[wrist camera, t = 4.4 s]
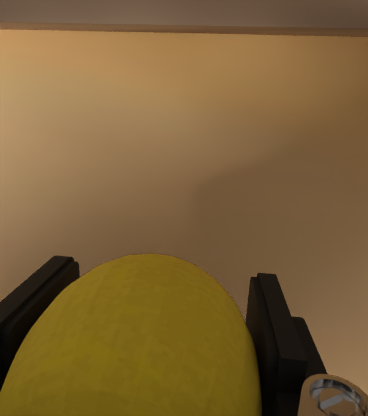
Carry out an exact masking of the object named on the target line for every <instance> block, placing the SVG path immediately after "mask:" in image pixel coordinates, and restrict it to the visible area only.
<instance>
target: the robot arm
mask: <svg viewBox="0 0 368 416" xmlns="http://www.w3.org/2000/svg"><path fill="white" fill-rule="evenodd" d="M79 278H80V277H79V264H78V262H74V259H73V258H72V257H66V256H54V257H52V258H51V259H50V260H49V261H48V262H47V263H45V264H44V265H43V266H42V267H41V268H40V269H38V270H37V271H36V272H35V273H34V274H32V275H31V276H30V277H29V278H28V279H27V280H25V281H24V282H23V283H22V284H21V285H20V286H18V287H17V288H16V289H15V290H14V291H13V292H11V293H10V294H9V295H8V296H7V297H6V298H4V299H3V300H2V301H1V302H0V392H1V389H2V386H3V384H4V381H5V379H6V376H7V374H8V371H9V369H10V366H11V364H12V362H13V360H14V358H15V355H16V353H17V351H18V350H19V348H20V346H21V344H22V342H23V340H24V339H25V337H26V335H27V334H28V332H29V331H30V329H31V328H32V326H33V325H34V324H35V322H36V321H37V320H38V319H39V317H40V316H41V315H42V314H43V313H44V311H45V310H46V309H47V308H48V307H49V305H50V304H51V303H52V302H53V301H54V299H55V298H56V297H57V296H58V295H59V294H60V293H61V292H62V291H63V290H64V289H65V288H66V287H67V286H69V285H70V284H71V283H73V282H74V281H76V280H77V279H79ZM246 326H247V328H248V330H249V332H250V334H251V337H252V340H253V343H254V346H255V351H256V355H257V362H258V368H259V375H260V384H261V393H262V416H368V396H367V395H366V394H365V393H364V392H363V391H362V390H361V389H360V388H359V387H357V386H356V385H354V384H353V383H351V382H350V381H348V380H345V379H343V378H341V377H338V376H334V375H329V374H327V372H326V369H325V367H324V365H323V362H322V360H321V358H320V355H319V353H318V351H317V348H316V346H315V344H314V341H313V339H312V337H311V334H310V332H309V330H308V327H307V325H306V323H305V321H304V319H303V318H301V317H291V314H290V311H289V309H288V306H287V303H286V301H285V298H284V295H283V293H282V290H281V287H280V285H279V282H278V279H277V276H276V274H265V273H258V274H257V277H251V279H250V287H249V296H248V305H247V315H246Z"/></svg>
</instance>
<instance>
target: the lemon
mask: <svg viewBox="0 0 368 416" xmlns="http://www.w3.org/2000/svg"><path fill="white" fill-rule="evenodd" d="M0 416H262V393H261V384H260V375H259V368H258V362H257V355H256V351H255V346H254V343H253V340H252V337H251V334H250V332H249V330H248V328H247V326H246V323H245V321H244V319H243V317H242V315H241V313H240V311H239V308H238V306H237V305H236V303H235V302H234V300H233V299H232V298H231V296H230V295H229V294H228V293H227V292H226V290H225V289H224V288H223V287H222V286H221V284H220V283H219V282H218V281H217V280H216V279H214V278H213V277H212V276H210V275H209V274H207V273H206V272H205V271H203V270H202V269H201V268H199V267H198V266H196V265H194V264H192V263H189V262H187V261H184V260H182V259H179V258H177V257H173V256H167V255H161V254H155V253H149V254H136V255H126V256H123V257H120V258H117V259H114V260H111V261H109V262H106V263H103V264H101V265H98V266H97V267H95V268H94V269H92V270H91V271H89V272H88V273H86V274H85V275H83V276H82V277H80V278H79V279H77V280H76V281H74V282H73V283H71V284H70V285H69V286H67V287H66V288H65V289H64V290H63V291H62V292H61V293H60V294H59V295H58V296H57V297H56V298H55V299H54V301H53V302H52V303H51V304H50V305H49V307H48V308H47V309H46V310H45V311H44V313H43V314H42V315H41V316H40V317H39V319H38V320H37V321H36V322H35V324H34V325H33V326H32V328H31V329H30V331H29V332H28V334H27V335H26V337H25V339H24V340H23V342H22V344H21V346H20V348H19V350H18V351H17V353H16V355H15V358H14V360H13V362H12V364H11V366H10V369H9V371H8V374H7V376H6V379H5V381H4V384H3V386H2V389H1V392H0Z"/></svg>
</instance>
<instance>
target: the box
mask: <svg viewBox="0 0 368 416" xmlns="http://www.w3.org/2000/svg"><path fill="white" fill-rule="evenodd" d="M0 29H26V30H74V31H122V32H170V33H219V34H267V35H315V36H363V37H368V0H0Z"/></svg>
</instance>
